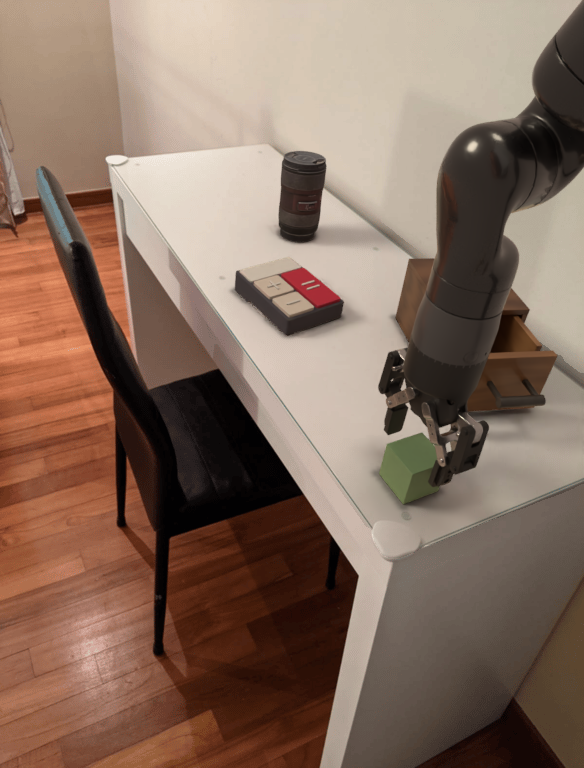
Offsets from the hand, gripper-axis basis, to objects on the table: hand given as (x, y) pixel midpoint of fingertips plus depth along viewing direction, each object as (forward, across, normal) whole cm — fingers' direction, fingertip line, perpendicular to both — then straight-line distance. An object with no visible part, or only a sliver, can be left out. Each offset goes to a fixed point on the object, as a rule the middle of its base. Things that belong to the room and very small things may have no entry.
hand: (413, 456), depth 68 cm
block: (+4, 0, 0) cm, 4 cm away
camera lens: (+5, +61, -18) cm, 64 cm away
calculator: (+5, +39, -4) cm, 40 cm away
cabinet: (+4, +21, -23) cm, 31 cm away
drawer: (+3, +9, -20) cm, 22 cm away
